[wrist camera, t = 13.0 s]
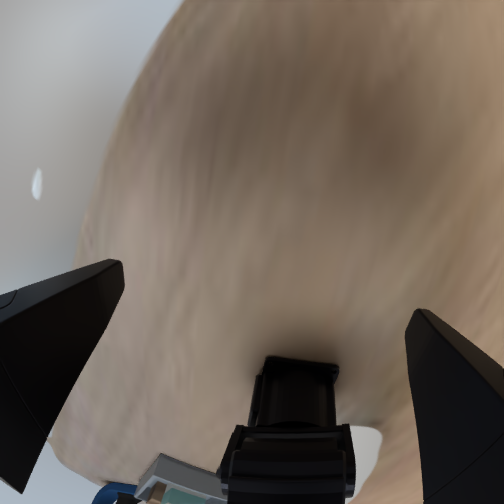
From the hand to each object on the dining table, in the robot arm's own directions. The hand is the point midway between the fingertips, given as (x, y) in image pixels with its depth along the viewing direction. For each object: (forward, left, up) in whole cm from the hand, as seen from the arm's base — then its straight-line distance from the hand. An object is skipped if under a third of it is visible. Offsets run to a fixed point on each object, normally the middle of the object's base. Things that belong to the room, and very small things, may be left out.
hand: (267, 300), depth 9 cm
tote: (+8, +51, -12) cm, 53 cm away
